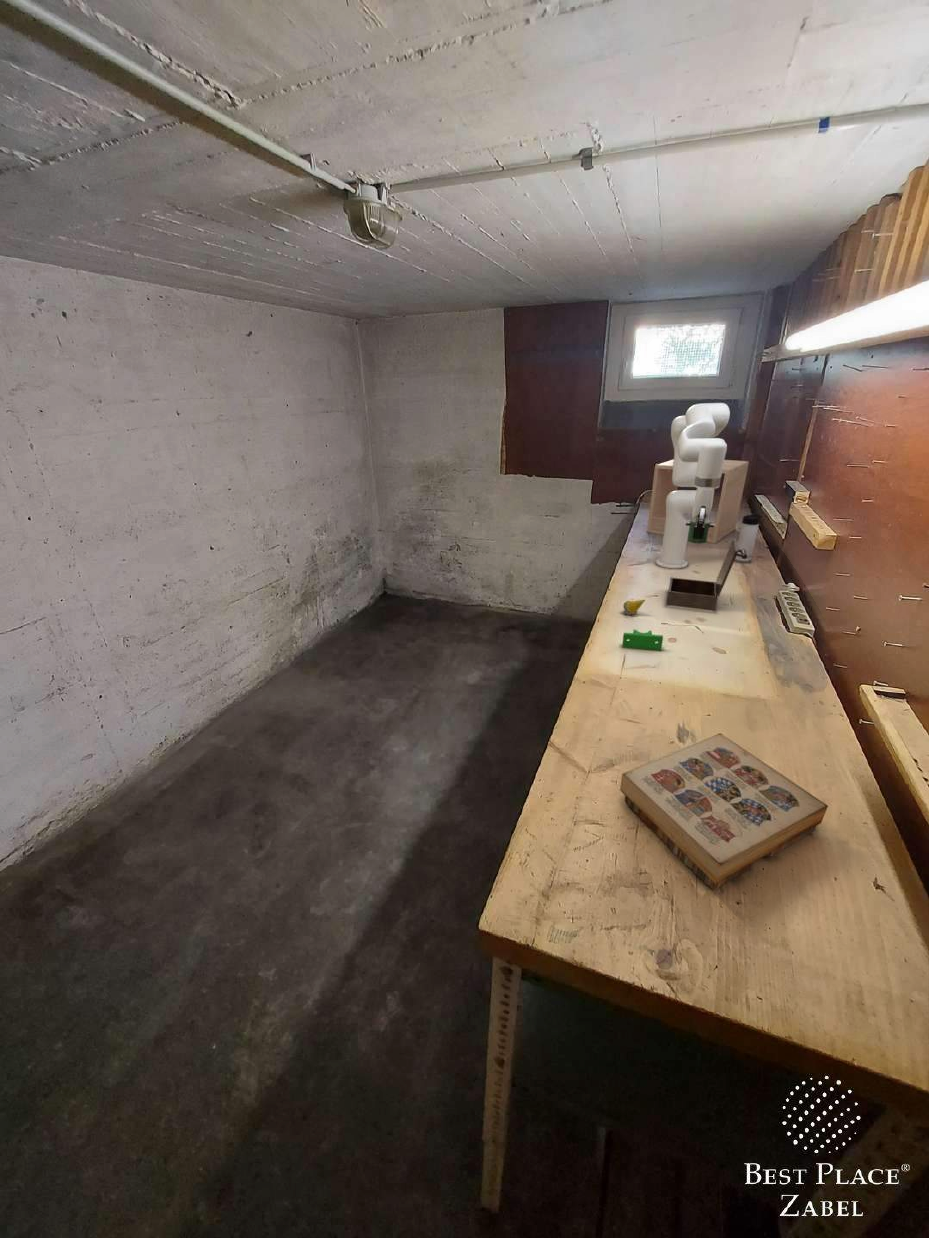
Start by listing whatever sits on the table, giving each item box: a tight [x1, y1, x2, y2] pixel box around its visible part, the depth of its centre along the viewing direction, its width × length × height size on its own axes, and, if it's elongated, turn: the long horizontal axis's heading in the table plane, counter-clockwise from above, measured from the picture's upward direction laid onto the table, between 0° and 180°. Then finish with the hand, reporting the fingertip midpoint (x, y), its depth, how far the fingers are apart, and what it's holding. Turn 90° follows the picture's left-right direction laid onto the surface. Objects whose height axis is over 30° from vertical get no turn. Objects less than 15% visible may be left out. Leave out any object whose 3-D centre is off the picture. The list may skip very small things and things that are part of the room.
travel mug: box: [734, 514, 762, 564], centre depth 206 cm, size 6×7×20 cm
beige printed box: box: [619, 732, 829, 891], centre depth 90 cm, size 25×6×28 cm
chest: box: [665, 577, 719, 612], centre depth 173 cm, size 16×15×6 cm
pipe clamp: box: [621, 629, 664, 651], centre depth 147 cm, size 11×4×5 cm, turn 76°
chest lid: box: [715, 537, 747, 597], centre depth 164 cm, size 16×15×5 cm
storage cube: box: [646, 458, 750, 544], centre depth 246 cm, size 34×29×34 cm
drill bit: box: [623, 599, 646, 617], centre depth 165 cm, size 5×5×10 cm
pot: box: [685, 517, 714, 544], centre depth 164 cm, size 9×7×7 cm
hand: (697, 535), depth 165 cm, fingers closed on pot, 6 cm apart
